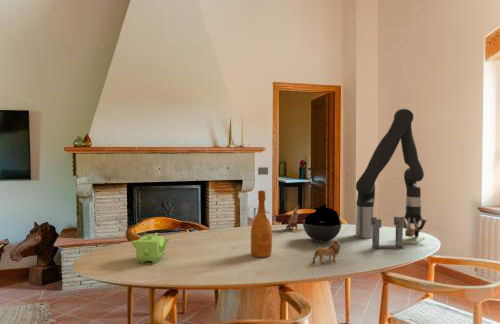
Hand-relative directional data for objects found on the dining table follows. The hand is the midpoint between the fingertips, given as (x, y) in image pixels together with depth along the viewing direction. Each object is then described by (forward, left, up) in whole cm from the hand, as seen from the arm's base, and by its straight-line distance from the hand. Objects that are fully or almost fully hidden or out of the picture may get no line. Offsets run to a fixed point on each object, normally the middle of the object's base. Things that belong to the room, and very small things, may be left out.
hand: (412, 236), depth 201 cm
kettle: (-123, -60, -2) cm, 137 cm away
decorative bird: (-65, +10, -2) cm, 66 cm away
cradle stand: (-17, -19, -2) cm, 26 cm away
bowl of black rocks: (-49, -12, -2) cm, 50 cm away
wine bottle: (-77, -43, -2) cm, 88 cm away
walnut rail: (0, 0, +1) cm, 1 cm away
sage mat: (0, 0, -2) cm, 2 cm away
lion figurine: (-47, -48, -2) cm, 67 cm away
